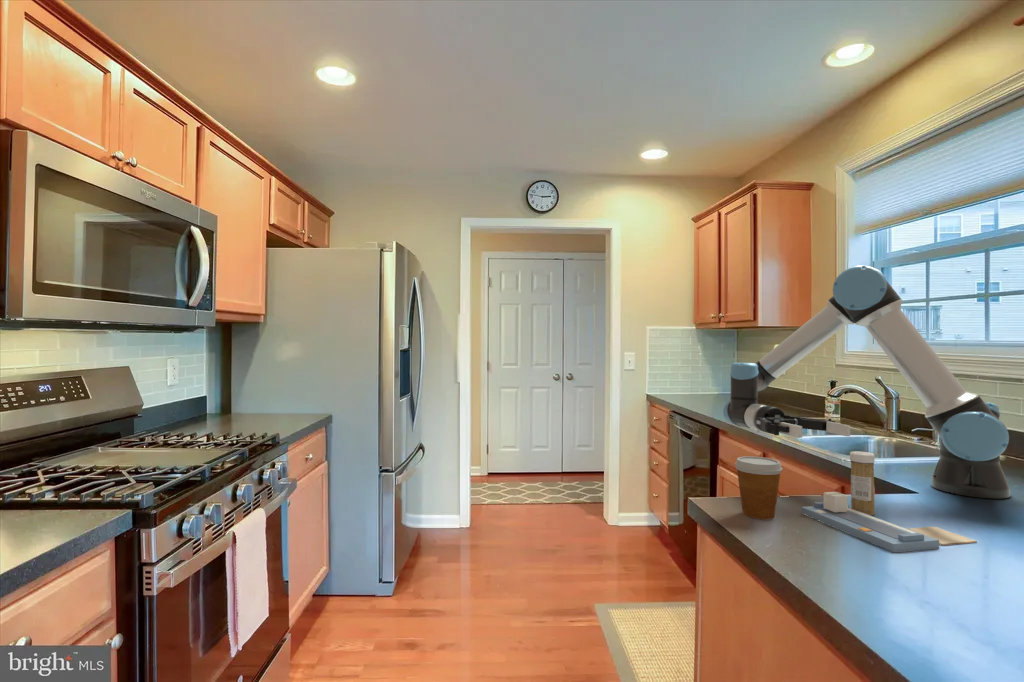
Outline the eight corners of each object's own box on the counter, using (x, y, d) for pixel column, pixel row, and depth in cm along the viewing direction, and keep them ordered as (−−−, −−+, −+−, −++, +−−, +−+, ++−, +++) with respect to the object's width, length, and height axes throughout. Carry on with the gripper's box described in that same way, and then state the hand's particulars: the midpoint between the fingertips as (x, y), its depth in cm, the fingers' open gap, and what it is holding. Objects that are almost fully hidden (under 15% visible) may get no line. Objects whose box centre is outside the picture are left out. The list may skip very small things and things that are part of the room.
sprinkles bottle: (878, 513, 113) (878, 453, 113) (869, 517, 110) (869, 455, 111) (855, 508, 117) (855, 449, 117) (846, 511, 114) (846, 451, 114)
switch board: (839, 511, 115) (839, 499, 115) (939, 548, 93) (938, 534, 93) (801, 513, 113) (801, 502, 113) (893, 552, 91) (893, 538, 91)
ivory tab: (836, 507, 112) (835, 490, 112) (847, 511, 109) (847, 494, 109) (823, 508, 111) (823, 491, 111) (834, 512, 108) (834, 495, 108)
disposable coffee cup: (726, 508, 116) (726, 456, 116) (766, 507, 117) (766, 455, 117) (749, 522, 107) (749, 465, 107) (792, 521, 107) (792, 464, 108)
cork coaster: (934, 527, 104) (934, 526, 104) (976, 542, 96) (976, 540, 96) (901, 530, 102) (901, 529, 102) (942, 545, 94) (942, 543, 94)
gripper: (803, 431, 147) (868, 445, 126) (726, 432, 142) (780, 448, 121) (803, 405, 147) (868, 415, 126) (726, 406, 142) (780, 416, 121)
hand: (825, 431), depth 124 cm, fingers open, 13 cm apart
